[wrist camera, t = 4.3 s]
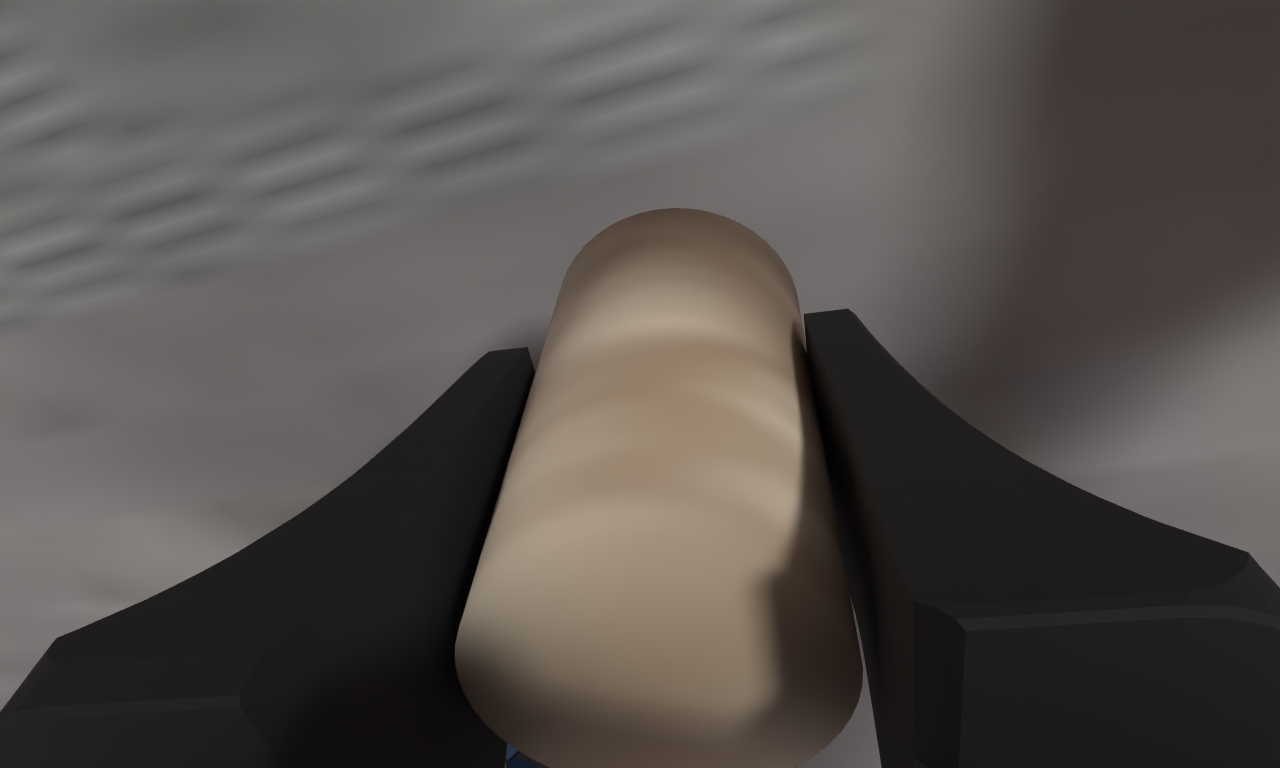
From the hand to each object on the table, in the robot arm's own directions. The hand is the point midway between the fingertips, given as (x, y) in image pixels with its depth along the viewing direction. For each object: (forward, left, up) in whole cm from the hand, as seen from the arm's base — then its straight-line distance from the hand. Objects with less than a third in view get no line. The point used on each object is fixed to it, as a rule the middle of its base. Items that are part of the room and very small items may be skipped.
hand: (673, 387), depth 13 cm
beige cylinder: (0, 0, -2) cm, 2 cm away
